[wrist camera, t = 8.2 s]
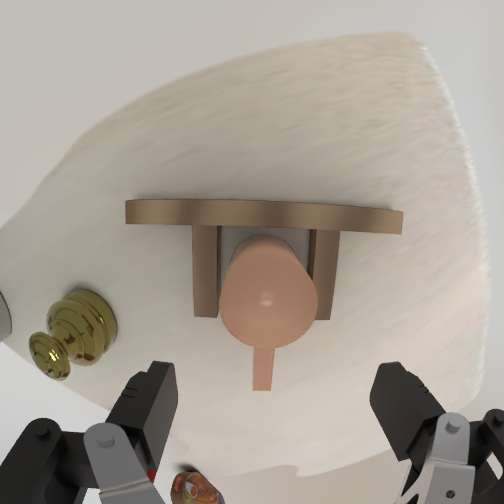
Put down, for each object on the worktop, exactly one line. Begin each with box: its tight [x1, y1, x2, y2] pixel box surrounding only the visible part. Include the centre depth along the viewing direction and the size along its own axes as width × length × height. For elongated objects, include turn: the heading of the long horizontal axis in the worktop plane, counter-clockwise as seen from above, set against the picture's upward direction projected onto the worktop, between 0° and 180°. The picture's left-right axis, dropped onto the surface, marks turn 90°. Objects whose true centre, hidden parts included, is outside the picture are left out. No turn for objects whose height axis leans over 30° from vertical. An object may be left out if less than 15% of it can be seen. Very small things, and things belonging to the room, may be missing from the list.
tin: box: [171, 472, 225, 504], centre depth 30 cm, size 15×3×8 cm, turn 18°
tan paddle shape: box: [219, 234, 318, 391], centre depth 22 cm, size 11×6×9 cm, turn 178°
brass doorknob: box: [29, 290, 117, 381], centre depth 22 cm, size 7×8×10 cm
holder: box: [126, 199, 403, 320], centre depth 24 cm, size 24×10×2 cm, turn 88°
